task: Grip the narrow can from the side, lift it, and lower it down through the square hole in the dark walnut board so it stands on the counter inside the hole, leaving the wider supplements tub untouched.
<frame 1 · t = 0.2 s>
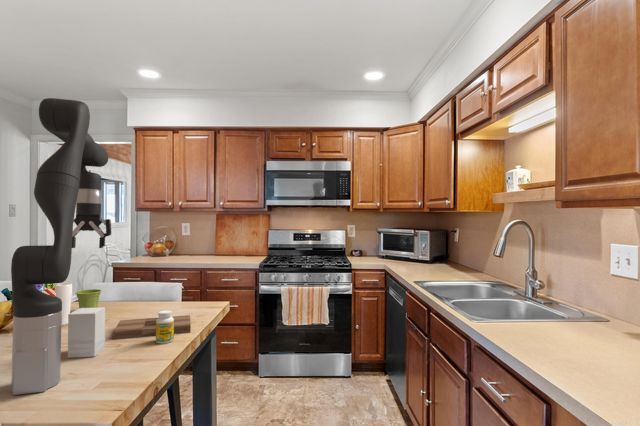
hand: (87, 248, 129), 29 cm above the table, tool pointing down, fingers open, 8 cm apart
supplement bottle: (164, 341, 119), on the table
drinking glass: (60, 325, 135), on the table
plant pot: (88, 312, 154), on the table
supplement box: (86, 353, 108), on the table
walnut board: (154, 329, 131), on the table
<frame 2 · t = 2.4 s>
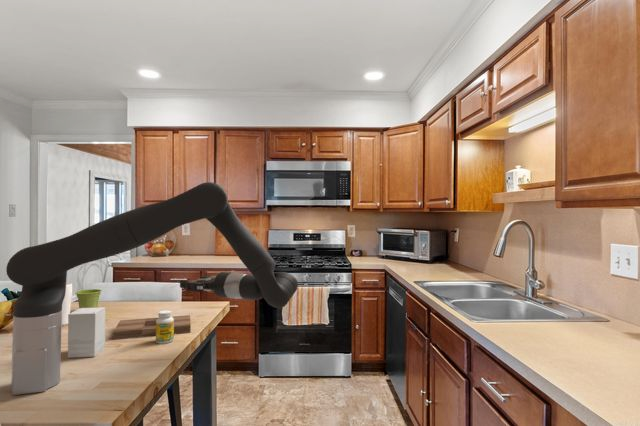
hand: (190, 281, 115), 20 cm above the table, tool horizontal, fingers open, 8 cm apart
nothing on the table moved.
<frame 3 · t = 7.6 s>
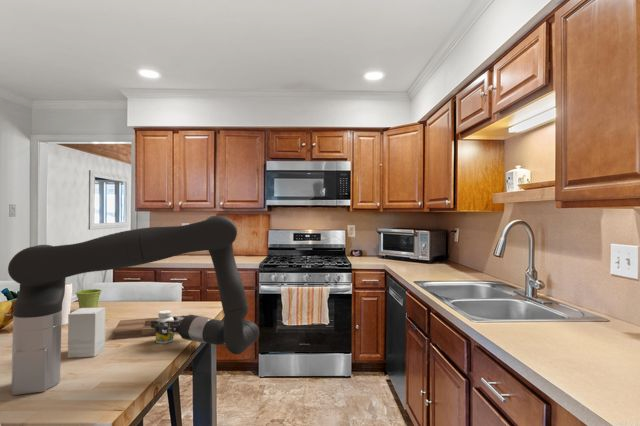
hand: (159, 321, 120), 6 cm above the table, tool horizontal, fingers closed on supplement bottle, 5 cm apart
supplement bottle: (164, 341, 119), on the table, touching gripper
everything else where it was.
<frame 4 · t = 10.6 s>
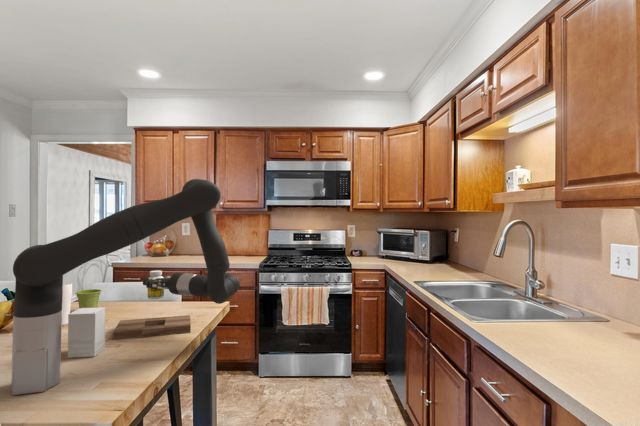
hand: (150, 280, 132), 17 cm above the table, tool horizontal, fingers closed on supplement bottle, 5 cm apart
supplement bottle: (155, 298, 131), point 11 cm above the table, touching gripper
everything else where it was.
when the fingers open (7 cm above the table, at t = 13.7 s): supplement bottle drops 1 cm, resting in walnut board.
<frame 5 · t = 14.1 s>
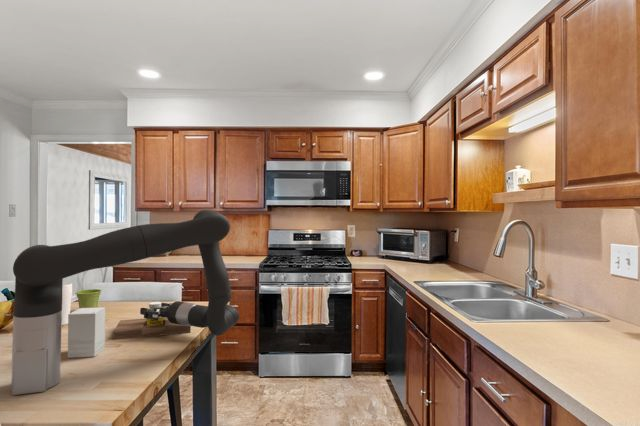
hand: (151, 308, 131), 7 cm above the table, tool horizontal, fingers open, 8 cm apart
supplement bottle: (154, 330, 130), resting in walnut board
everything else where it was.
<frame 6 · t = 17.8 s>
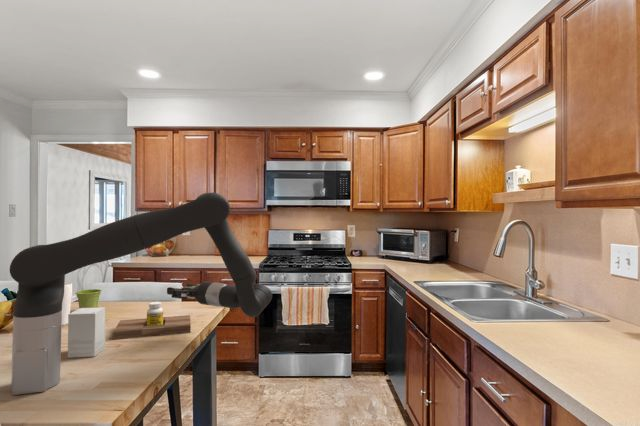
hand: (177, 288, 126), 16 cm above the table, tool horizontal, fingers open, 8 cm apart
nothing on the table moved.
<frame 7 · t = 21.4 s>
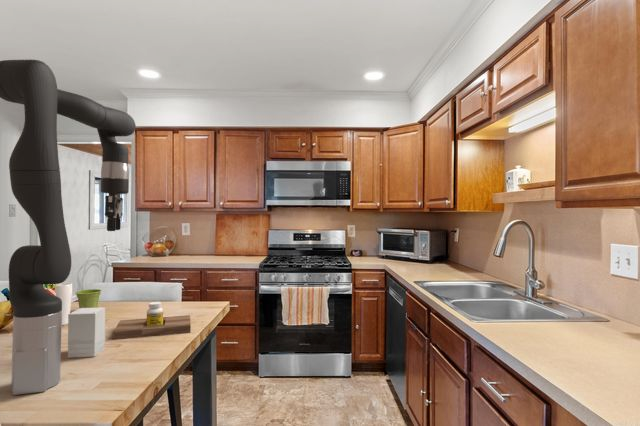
hand: (113, 230, 112), 36 cm above the table, tool pointing down, fingers open, 8 cm apart
nothing on the table moved.
at the end: supplement bottle 0.1 cm off-centre on the walnut board, point 0.0 cm above the walnut board's base; supplement bottle tilted 0°; the gripper is holding nothing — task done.
